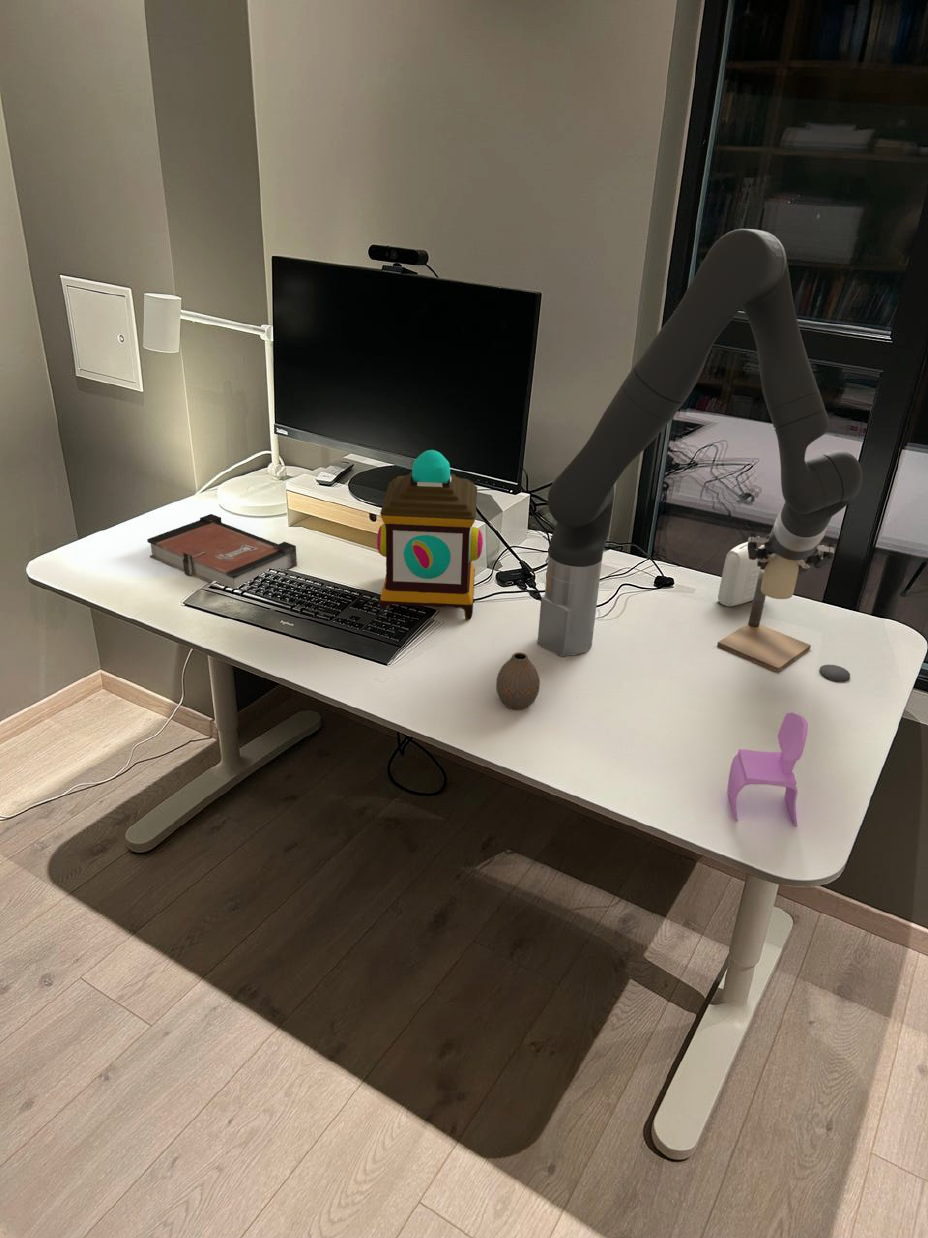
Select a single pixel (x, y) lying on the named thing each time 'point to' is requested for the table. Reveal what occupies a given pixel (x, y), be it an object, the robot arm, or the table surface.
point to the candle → (780, 578)
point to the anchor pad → (834, 673)
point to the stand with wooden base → (763, 639)
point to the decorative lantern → (429, 537)
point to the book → (220, 552)
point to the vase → (518, 682)
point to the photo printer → (738, 577)
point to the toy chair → (771, 764)
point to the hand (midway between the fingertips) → (780, 566)
